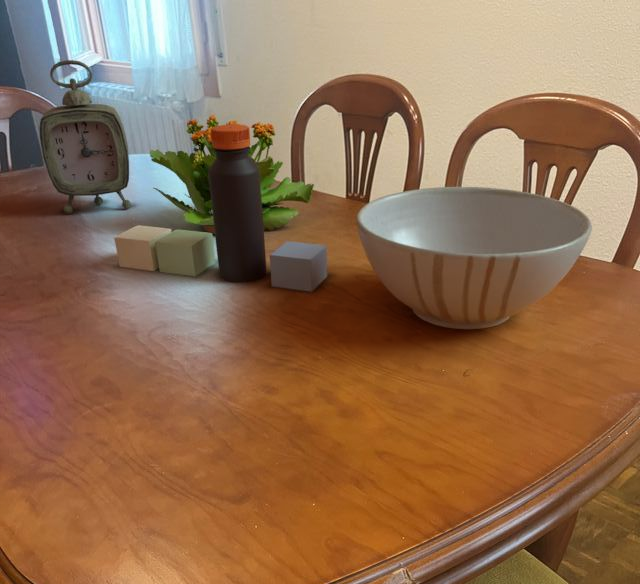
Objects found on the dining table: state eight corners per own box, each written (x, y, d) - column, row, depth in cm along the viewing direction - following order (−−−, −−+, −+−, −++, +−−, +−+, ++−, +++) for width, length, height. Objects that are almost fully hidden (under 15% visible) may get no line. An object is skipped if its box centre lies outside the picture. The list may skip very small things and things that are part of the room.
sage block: (160, 275, 96) (154, 241, 94) (181, 261, 101) (176, 229, 98) (196, 279, 95) (191, 245, 92) (216, 265, 99) (212, 232, 96)
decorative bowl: (451, 385, 68) (463, 274, 62) (316, 300, 87) (313, 208, 81) (619, 323, 80) (644, 223, 73) (467, 260, 99) (476, 176, 92)
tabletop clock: (57, 217, 122) (20, 64, 108) (61, 204, 129) (27, 59, 115) (137, 210, 124) (111, 60, 110) (137, 198, 132) (112, 56, 118)
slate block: (271, 290, 91) (269, 254, 88) (288, 274, 95) (287, 240, 93) (312, 295, 89) (310, 259, 86) (327, 279, 94) (327, 245, 91)
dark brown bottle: (275, 272, 96) (265, 124, 85) (252, 289, 91) (239, 134, 80) (235, 266, 99) (221, 121, 88) (211, 282, 94) (192, 130, 82)
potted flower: (241, 261, 100) (229, 138, 91) (126, 239, 110) (105, 126, 101) (321, 217, 118) (319, 111, 109) (216, 202, 128) (206, 103, 119)
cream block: (120, 269, 99) (113, 237, 96) (143, 256, 103) (137, 224, 100) (154, 274, 97) (148, 241, 94) (176, 260, 101) (171, 228, 99)
